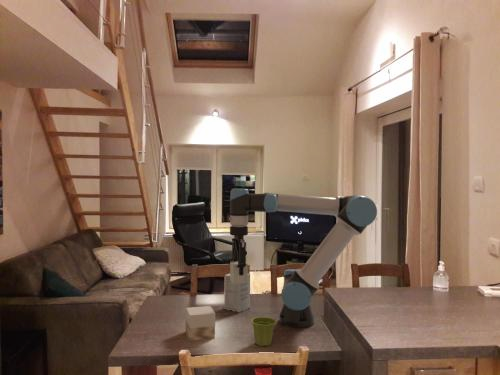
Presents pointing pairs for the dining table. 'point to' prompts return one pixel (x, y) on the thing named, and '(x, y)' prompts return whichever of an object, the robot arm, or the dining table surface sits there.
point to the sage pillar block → (234, 272)
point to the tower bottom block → (200, 333)
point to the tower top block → (200, 317)
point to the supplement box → (237, 295)
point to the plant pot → (263, 330)
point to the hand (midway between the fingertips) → (238, 280)
